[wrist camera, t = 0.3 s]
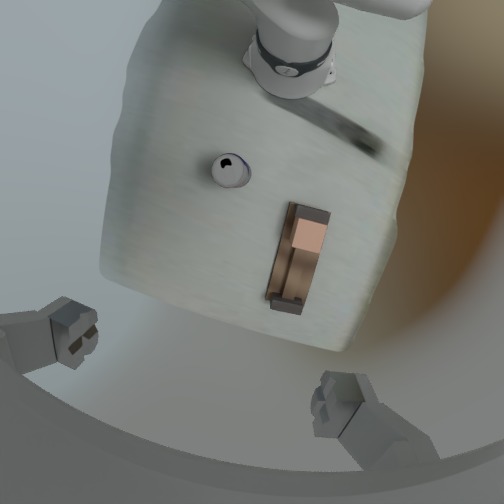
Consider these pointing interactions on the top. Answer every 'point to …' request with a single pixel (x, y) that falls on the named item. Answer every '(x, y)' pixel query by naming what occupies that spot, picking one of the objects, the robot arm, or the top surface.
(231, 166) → the energy drink
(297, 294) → the rail
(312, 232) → the brown sliding block
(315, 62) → the robot arm
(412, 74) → the top surface
